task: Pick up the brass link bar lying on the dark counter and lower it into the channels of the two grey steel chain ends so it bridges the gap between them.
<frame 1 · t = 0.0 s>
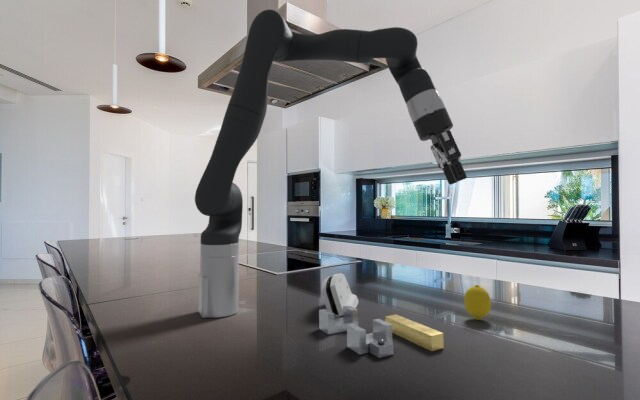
hand: (457, 181, 74), 31 cm above the countertop, tool tilted 20°, fingers open, 8 cm apart
lemon: (477, 320, 77), on the countertop
link bar: (412, 339, 67), on the countertop
white rounded housing: (340, 310, 87), on the countertop
chain ends: (353, 336, 67), on the countertop
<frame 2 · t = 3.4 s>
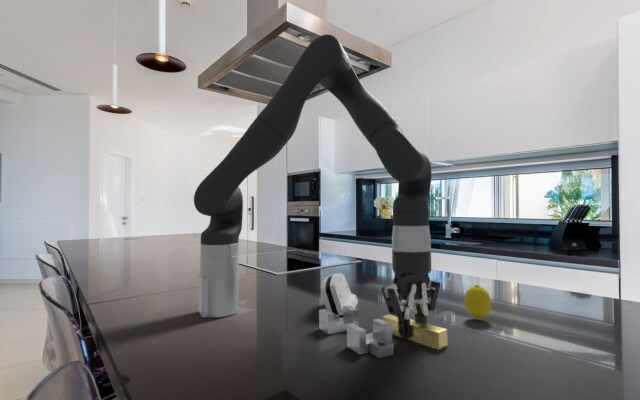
hand: (412, 334, 67), 1 cm above the countertop, tool pointing down, fingers closed on link bar, 3 cm apart
link bar: (412, 337, 67), on the countertop, touching gripper
everything else where it was.
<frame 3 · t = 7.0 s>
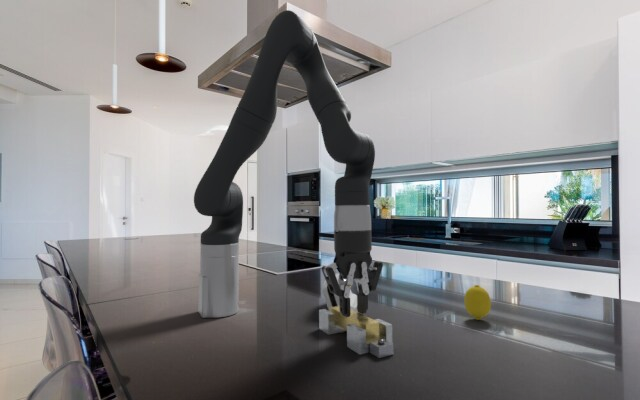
hand: (353, 313, 67), 5 cm above the countertop, tool pointing down, fingers open, 3 cm apart
link bar: (353, 329, 67), point 1 cm above the countertop, touching chain ends, gripper
everything else where it was.
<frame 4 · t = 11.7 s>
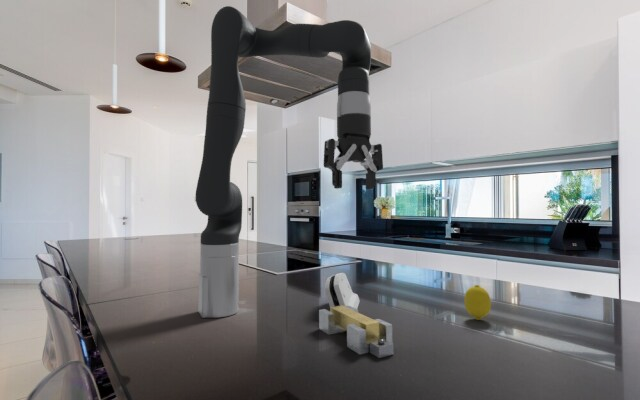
hand: (354, 188, 75), 30 cm above the countertop, tool pointing down, fingers open, 8 cm apart
link bar: (353, 329, 67), point 1 cm above the countertop, touching chain ends
at the end: link bar 0.1 cm off-centre on the chain ends, point 1.5 cm above the chain ends's base; link bar tilted 0°; the gripper is holding nothing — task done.
